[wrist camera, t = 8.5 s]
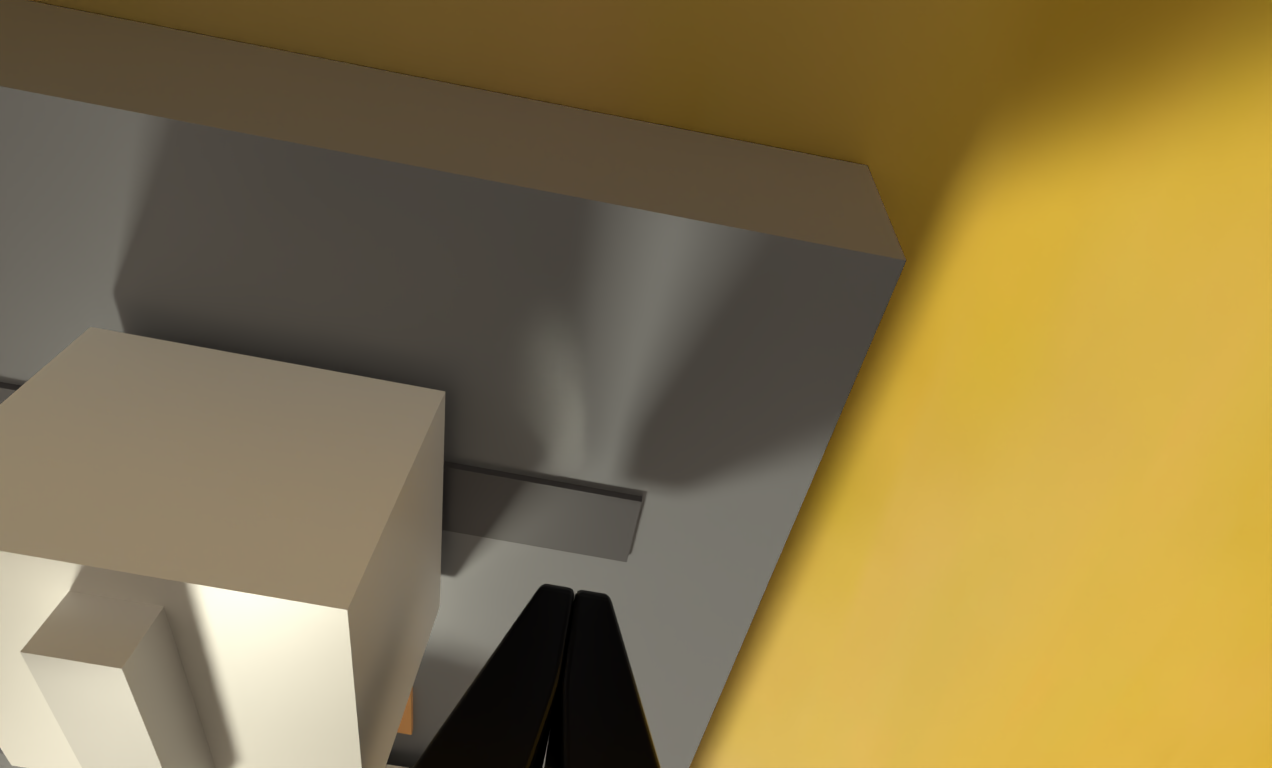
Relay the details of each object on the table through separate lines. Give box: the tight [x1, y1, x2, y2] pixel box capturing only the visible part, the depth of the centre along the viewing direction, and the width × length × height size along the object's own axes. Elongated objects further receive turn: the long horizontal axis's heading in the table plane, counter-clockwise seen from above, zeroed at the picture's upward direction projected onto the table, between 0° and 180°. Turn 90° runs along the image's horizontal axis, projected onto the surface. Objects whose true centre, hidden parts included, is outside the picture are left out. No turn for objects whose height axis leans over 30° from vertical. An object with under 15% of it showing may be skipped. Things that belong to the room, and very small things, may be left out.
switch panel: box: [0, 0, 906, 768], centre depth 14 cm, size 19×18×3 cm
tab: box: [0, 327, 445, 768], centre depth 9 cm, size 4×4×4 cm
